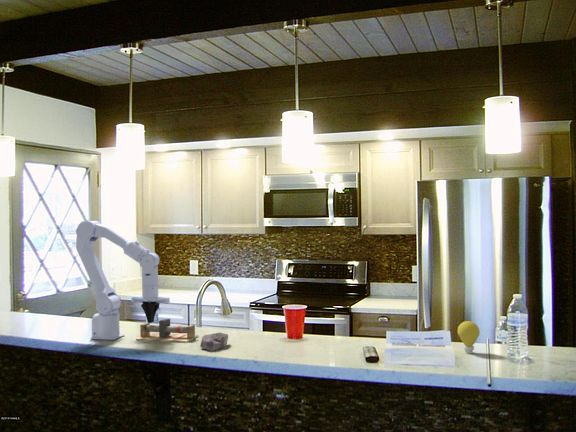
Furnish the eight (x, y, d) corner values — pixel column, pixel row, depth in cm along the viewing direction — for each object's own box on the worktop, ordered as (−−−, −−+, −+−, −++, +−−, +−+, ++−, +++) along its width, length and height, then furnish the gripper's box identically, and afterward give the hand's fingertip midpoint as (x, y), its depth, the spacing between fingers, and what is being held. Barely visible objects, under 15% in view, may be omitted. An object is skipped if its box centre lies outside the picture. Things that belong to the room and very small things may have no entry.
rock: (196, 351, 191) (196, 337, 191) (207, 343, 202) (207, 330, 202) (219, 352, 190) (219, 338, 190) (229, 344, 201) (229, 331, 201)
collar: (159, 337, 209) (159, 321, 209) (165, 334, 214) (165, 318, 214) (163, 337, 208) (163, 321, 208) (170, 334, 213) (170, 318, 213)
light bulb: (462, 349, 188) (462, 318, 188) (483, 352, 184) (482, 320, 184) (454, 353, 183) (453, 321, 183) (475, 356, 179) (474, 323, 179)
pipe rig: (135, 340, 209) (135, 326, 209) (149, 334, 218) (149, 321, 218) (186, 342, 203) (186, 328, 203) (198, 336, 213) (198, 323, 213)
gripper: (126, 286, 211) (127, 323, 211) (163, 287, 207) (163, 325, 207) (136, 284, 217) (137, 320, 217) (171, 284, 214) (172, 321, 214)
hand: (150, 322), depth 213 cm, fingers closed
